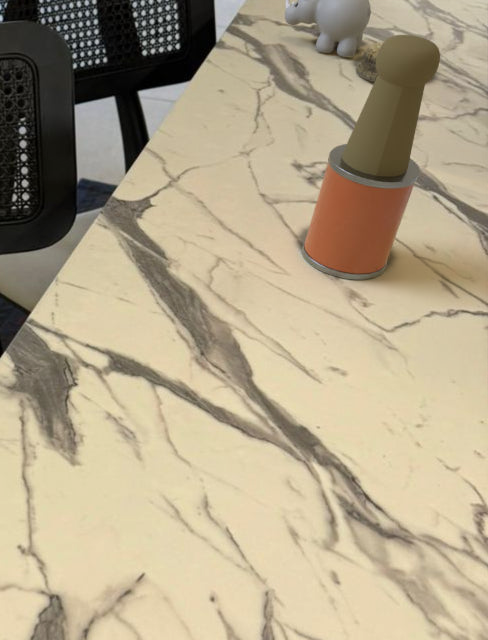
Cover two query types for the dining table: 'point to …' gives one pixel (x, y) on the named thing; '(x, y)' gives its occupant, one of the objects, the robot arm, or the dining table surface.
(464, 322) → the dining table surface
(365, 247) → the tin can
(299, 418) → the dining table surface
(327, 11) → the round bodied animal figurine
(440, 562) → the dining table surface
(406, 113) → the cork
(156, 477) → the dining table surface
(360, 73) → the cake
